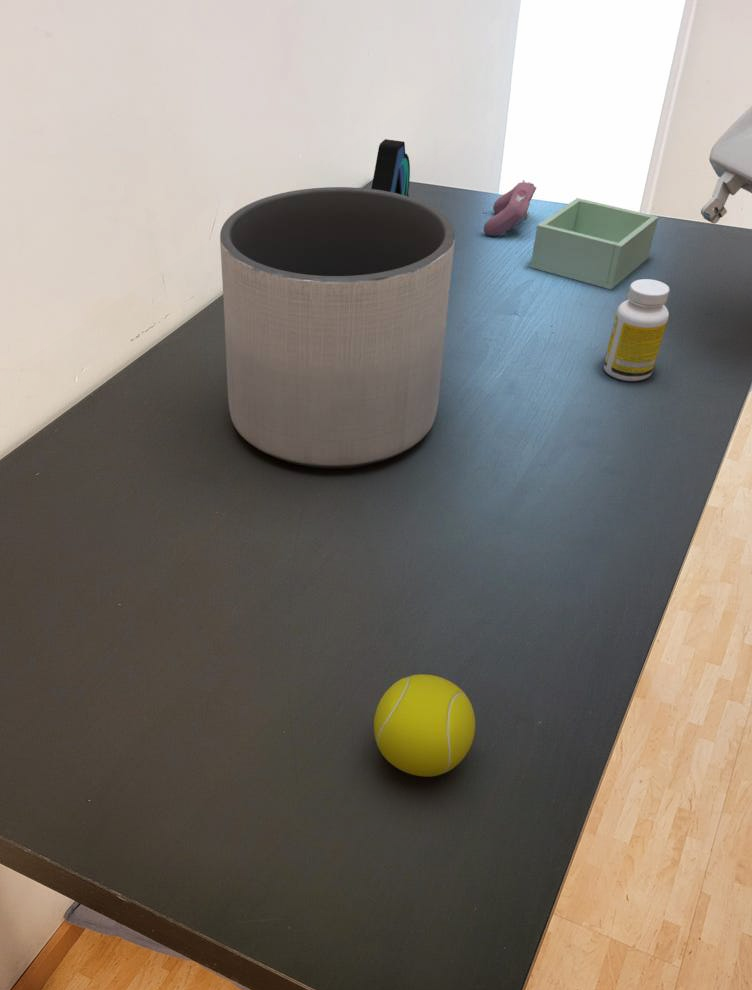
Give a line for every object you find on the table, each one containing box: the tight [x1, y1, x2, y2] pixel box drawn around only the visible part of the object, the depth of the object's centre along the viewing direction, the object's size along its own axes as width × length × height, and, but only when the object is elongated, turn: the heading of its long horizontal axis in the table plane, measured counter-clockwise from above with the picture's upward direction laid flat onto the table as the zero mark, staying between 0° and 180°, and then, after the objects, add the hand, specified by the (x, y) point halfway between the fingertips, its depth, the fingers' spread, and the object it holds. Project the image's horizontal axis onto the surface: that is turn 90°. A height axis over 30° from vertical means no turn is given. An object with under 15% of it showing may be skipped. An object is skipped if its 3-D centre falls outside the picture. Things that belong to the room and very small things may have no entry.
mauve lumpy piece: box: [483, 179, 537, 237], centre depth 134 cm, size 10×5×7 cm, turn 161°
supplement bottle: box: [603, 278, 670, 382], centre depth 103 cm, size 5×5×10 cm
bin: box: [529, 197, 659, 290], centre depth 124 cm, size 12×12×6 cm
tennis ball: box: [373, 673, 476, 778], centre depth 66 cm, size 7×7×7 cm
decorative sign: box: [370, 138, 411, 197], centre depth 123 cm, size 19×2×15 cm, turn 155°
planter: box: [219, 186, 456, 469], centre depth 93 cm, size 22×22×20 cm
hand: (736, 234), depth 99 cm, fingers open, 8 cm apart
